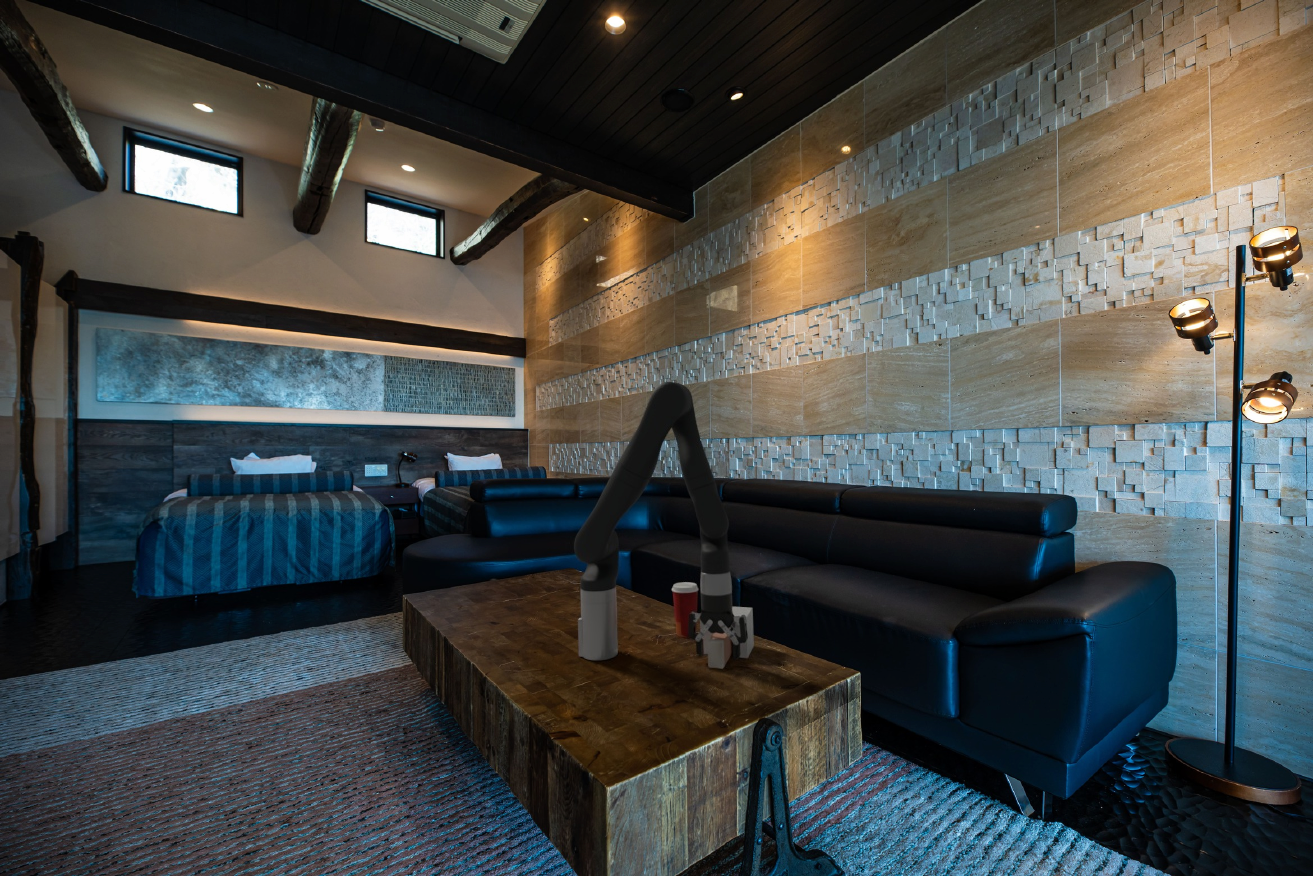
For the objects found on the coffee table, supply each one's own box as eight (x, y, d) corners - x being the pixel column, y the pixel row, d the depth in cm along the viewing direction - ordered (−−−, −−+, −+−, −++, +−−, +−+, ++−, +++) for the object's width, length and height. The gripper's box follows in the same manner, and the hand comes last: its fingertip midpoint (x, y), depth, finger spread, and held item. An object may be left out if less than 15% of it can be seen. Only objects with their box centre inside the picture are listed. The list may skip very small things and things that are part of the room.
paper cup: (704, 632, 155) (703, 583, 156) (691, 640, 149) (690, 589, 149) (681, 628, 160) (679, 580, 160) (667, 636, 153) (666, 586, 154)
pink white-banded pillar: (708, 667, 129) (707, 641, 129) (723, 644, 144) (722, 621, 145) (722, 668, 128) (721, 643, 128) (736, 645, 143) (735, 622, 143)
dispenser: (700, 654, 138) (699, 614, 139) (709, 642, 147) (708, 604, 148) (747, 659, 134) (745, 618, 135) (753, 646, 143) (752, 607, 144)
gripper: (683, 592, 131) (685, 660, 130) (742, 595, 126) (744, 666, 125) (692, 585, 138) (694, 649, 137) (748, 588, 133) (750, 655, 132)
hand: (718, 657), depth 131 cm, fingers open, 8 cm apart
